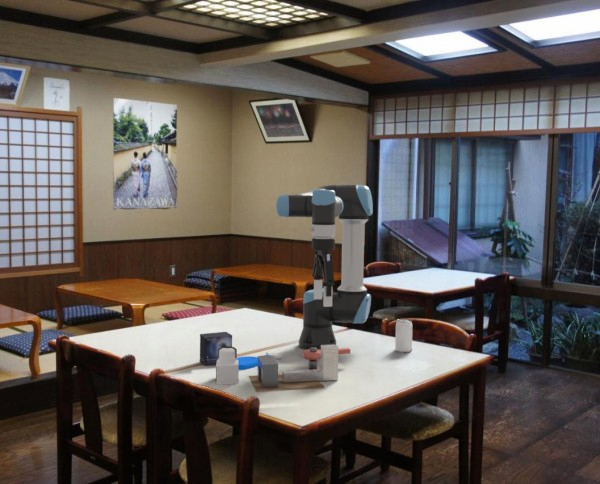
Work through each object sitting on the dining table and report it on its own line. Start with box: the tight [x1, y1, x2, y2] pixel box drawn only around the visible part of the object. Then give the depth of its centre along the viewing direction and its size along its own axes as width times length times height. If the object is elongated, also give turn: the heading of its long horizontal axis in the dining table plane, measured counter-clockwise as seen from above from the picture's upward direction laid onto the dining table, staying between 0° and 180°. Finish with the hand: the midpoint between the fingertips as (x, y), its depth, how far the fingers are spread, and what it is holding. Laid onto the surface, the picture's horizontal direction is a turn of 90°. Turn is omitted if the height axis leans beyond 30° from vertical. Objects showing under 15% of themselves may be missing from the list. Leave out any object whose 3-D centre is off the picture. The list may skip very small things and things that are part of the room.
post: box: [308, 359, 318, 370], centre depth 238 cm, size 3×3×5 cm
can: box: [394, 318, 413, 353], centre depth 270 cm, size 6×6×12 cm
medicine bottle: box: [215, 346, 239, 385], centre depth 224 cm, size 7×7×12 cm
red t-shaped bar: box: [302, 347, 351, 361], centre depth 240 cm, size 18×7×3 cm, turn 113°
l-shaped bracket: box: [281, 343, 339, 383], centre depth 224 cm, size 4×18×11 cm, turn 102°
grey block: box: [257, 355, 279, 388], centre depth 222 cm, size 11×5×8 cm, turn 12°
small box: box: [199, 331, 233, 366], centre depth 250 cm, size 11×6×10 cm, turn 117°
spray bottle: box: [237, 351, 282, 371], centre depth 249 cm, size 3×11×24 cm
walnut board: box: [248, 373, 326, 393], centre depth 223 cm, size 18×22×1 cm
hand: (322, 302), depth 223 cm, fingers open, 13 cm apart
